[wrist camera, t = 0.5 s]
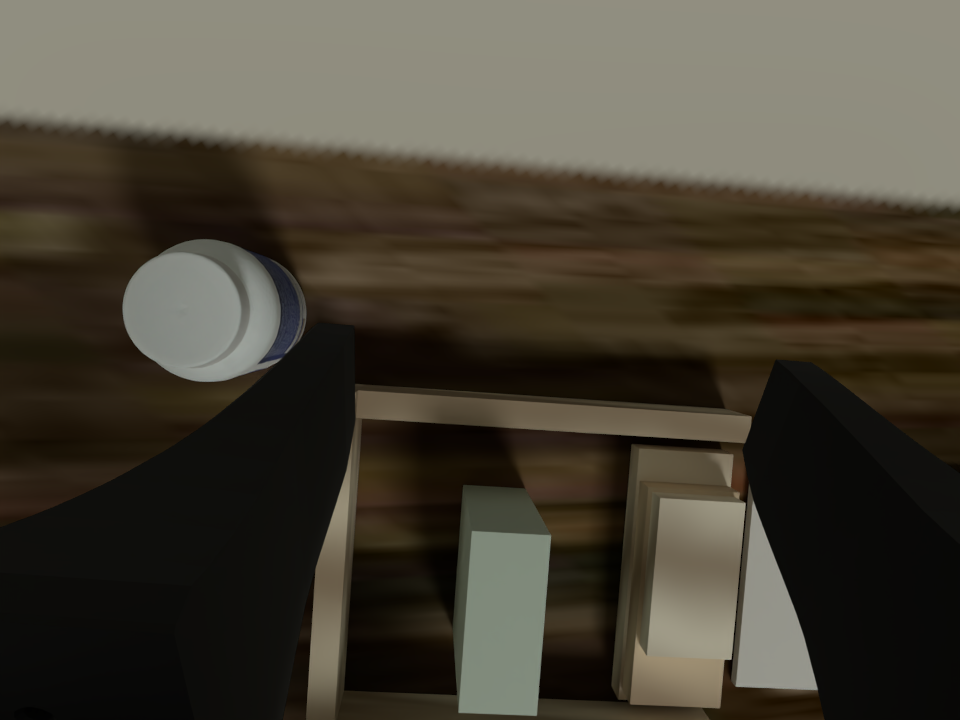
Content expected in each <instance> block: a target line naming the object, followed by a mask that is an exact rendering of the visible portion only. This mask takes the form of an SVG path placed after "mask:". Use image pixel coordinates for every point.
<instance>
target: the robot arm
mask: <svg viewBox="0 0 960 720" xmlns="http://www.w3.org/2000/svg"><path fill="white" fill-rule="evenodd" d="M355 421H356V413H355V338H354V326H352V325H340V324H328V323H317V324H316V325H315V326H314V327H312V328H311V329H310V330H309V331H308V332H307V333H306V334H305V335H304V336H303V337H302V338H301V339H300V340H299V341H298V342H297V343H296V345H295V346H294V347H293V348H292V349H291V350H290V351H289V352H288V353H287V354H286V355H285V356H283V357H282V358H281V359H280V360H279V361H278V362H277V363H276V364H275V365H274V366H273V367H272V368H271V369H270V370H269V371H268V372H267V373H266V374H265V375H263V376H262V377H261V378H260V379H259V380H258V381H257V382H256V383H255V384H254V385H253V386H251V387H250V388H249V389H248V390H247V391H246V392H245V393H243V394H242V395H241V396H240V397H239V398H237V399H236V400H235V401H234V402H232V403H231V404H230V405H229V406H227V407H226V408H225V409H224V410H223V411H221V412H220V413H219V414H218V415H216V416H215V417H214V418H213V419H211V420H210V421H209V422H207V423H206V424H205V425H203V426H202V427H200V428H199V429H198V430H196V431H195V432H193V433H192V434H190V435H189V436H187V437H186V438H184V439H183V440H181V441H180V442H178V443H177V444H175V445H174V446H172V447H170V448H169V449H167V450H165V451H164V452H162V453H160V454H159V455H157V456H155V457H153V458H151V459H150V460H148V461H146V462H144V463H142V464H141V465H139V466H137V467H135V468H133V469H132V470H130V471H128V472H126V473H124V474H123V475H121V476H119V477H117V478H115V479H113V480H111V481H109V482H107V483H105V484H103V485H101V486H99V487H97V488H95V489H93V490H91V491H89V492H86V493H84V494H82V495H80V496H78V497H75V498H73V499H71V500H69V501H66V502H64V503H62V504H59V505H57V506H55V507H53V508H50V509H48V510H45V511H43V512H40V513H38V514H35V515H33V516H30V517H27V518H25V519H22V520H19V521H16V522H14V523H11V524H8V525H6V526H3V527H0V720H283V715H284V710H285V705H286V700H287V695H288V689H289V684H290V679H291V674H292V669H293V664H294V658H295V653H296V649H297V644H298V639H299V634H300V629H301V624H302V619H303V614H304V610H305V605H306V600H307V597H308V593H309V589H310V586H311V582H312V578H313V575H314V572H315V569H316V565H317V562H318V559H319V556H320V553H321V550H322V547H323V544H324V540H325V537H326V534H327V531H328V528H329V525H330V522H331V518H332V515H333V512H334V509H335V506H336V503H337V500H338V496H339V493H340V490H341V487H342V484H343V480H344V477H345V474H346V471H347V465H348V460H349V455H350V449H351V444H352V438H353V432H354V427H355ZM742 451H743V456H744V461H745V466H746V471H747V476H748V480H749V485H750V489H751V493H752V497H753V501H754V504H755V507H756V510H757V512H758V515H759V518H760V520H761V523H762V526H763V528H764V531H765V534H766V536H767V539H768V542H769V544H770V547H771V550H772V552H773V555H774V557H775V560H776V562H777V565H778V568H779V570H780V573H781V575H782V578H783V581H784V583H785V586H786V588H787V591H788V593H789V596H790V599H791V601H792V604H793V606H794V609H795V612H796V615H797V618H798V621H799V624H800V627H801V630H802V633H803V636H804V639H805V643H806V647H807V650H808V654H809V658H810V662H811V666H812V669H813V673H814V677H815V681H816V685H817V689H818V693H819V697H820V701H821V706H822V710H823V714H824V719H825V720H960V473H959V472H957V471H956V470H955V469H953V468H952V467H950V466H949V465H947V464H946V463H945V462H943V461H942V460H940V459H939V458H937V457H936V456H934V455H933V454H932V453H930V452H929V451H928V450H926V449H925V448H923V447H922V446H921V445H919V444H918V443H917V442H915V441H914V440H913V439H911V438H910V437H909V436H907V435H906V434H905V433H903V432H902V431H901V430H899V429H898V428H897V427H896V426H894V425H893V424H892V423H890V422H889V421H888V420H887V419H885V418H884V417H883V416H881V415H880V414H879V413H878V412H876V411H875V410H874V409H873V408H871V407H870V406H869V405H867V404H866V403H865V402H864V401H862V400H861V399H860V398H859V397H857V396H856V395H855V394H854V393H852V392H851V391H850V390H848V389H847V388H846V387H845V386H843V385H842V384H841V383H839V382H838V381H837V380H835V379H834V378H833V377H831V376H830V375H829V374H827V373H826V372H825V371H823V370H822V369H820V368H819V367H817V366H816V365H814V364H813V363H811V362H799V361H786V360H776V361H775V363H774V366H773V369H772V371H771V374H770V377H769V379H768V382H767V385H766V388H765V390H764V393H763V396H762V398H761V401H760V404H759V407H758V409H757V412H756V415H755V417H754V420H753V423H752V425H751V428H750V431H749V434H748V436H747V439H746V442H745V444H744V447H743V450H742Z"/></svg>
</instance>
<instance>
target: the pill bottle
mask: <svg viewBox="0 0 960 720" xmlns="http://www.w3.org/2000/svg"><path fill="white" fill-rule="evenodd" d="M123 318H124V323H125V327H126V330H127V332H128V334H129V336H130V338H131V340H132V341H133V343H134V344H135V345H136V346H137V348H138V349H139V350H140V351H141V352H142V353H144V354H145V355H146V356H148V357H149V358H150V359H152V360H154V361H156V362H157V363H158V364H159V365H160V366H162V367H163V368H164V369H166V370H168V371H169V372H171V373H173V374H175V375H177V376H180V377H182V378H185V379H189V380H194V381H201V382H213V381H224V380H228V379H231V378H234V377H237V376H240V375H244V374H247V373H250V372H254V371H258V370H261V369H265V368H267V367H269V366H271V365H273V364H275V363H277V362H278V361H279V360H280V359H281V358H282V357H283V356H285V355H286V354H287V353H288V352H289V351H290V350H291V349H292V348H293V347H294V346H295V345H296V343H297V342H298V341H299V340H300V338H301V336H302V334H303V331H304V328H305V324H306V304H305V299H304V295H303V293H302V290H301V288H300V286H299V284H298V282H297V281H296V279H295V278H294V277H293V275H292V274H291V273H290V272H289V271H288V270H287V269H286V268H284V267H283V266H282V265H280V264H279V263H277V262H276V261H274V260H272V259H270V258H268V257H265V256H263V255H260V254H257V253H254V252H252V251H249V250H246V249H244V248H241V247H239V246H236V245H233V244H231V243H227V242H223V241H218V240H210V239H198V240H191V241H186V242H183V243H180V244H177V245H175V246H173V247H171V248H169V249H167V250H165V251H164V252H162V253H161V254H160V255H158V256H157V257H155V258H153V259H151V260H149V261H148V262H146V263H145V264H144V265H143V266H141V267H140V268H139V269H138V270H137V271H136V273H135V274H134V275H133V277H132V278H131V280H130V281H129V284H128V286H127V288H126V291H125V294H124V298H123Z"/></svg>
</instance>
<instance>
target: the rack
mask: <svg viewBox="0 0 960 720" xmlns="http://www.w3.org/2000/svg"><path fill="white" fill-rule="evenodd" d="M355 413H356V421H355V427H354V432H353V438H352V444H351V449H350V455H349V460H348V465H347V471H346V474H345V477H344V480H343V484H342V487H341V490H340V493H339V496H338V500H337V503H336V506H335V509H334V512H333V515H332V518H331V522H330V525H329V528H328V531H327V534H326V537H325V540H324V544H323V547H322V550H321V553H320V556H319V559H318V562H317V565H316V571H315V586H314V602H313V618H312V633H311V649H310V665H309V680H308V696H307V712H306V720H709V718H708V717H707V715H706V714H705V713H704V711H703V710H702V708H701V707H706V708H720V702H721V691H722V680H723V669H724V660H731V659H732V648H733V637H734V626H735V615H736V604H737V593H738V582H739V571H740V560H741V549H742V538H743V527H744V516H745V505H746V503H745V502H743V501H741V500H739V492H737V491H736V490H734V489H732V488H730V487H731V476H732V465H733V454H731V453H729V452H727V451H724V450H722V449H706V448H691V447H675V446H659V445H644V444H632V445H631V457H630V469H629V481H628V492H627V504H626V516H625V528H624V540H623V552H622V564H621V576H620V588H619V600H618V612H617V624H616V636H615V648H614V660H613V672H612V684H611V686H612V688H613V690H614V692H615V694H616V696H617V698H618V700H628V702H612V701H587V700H563V699H538V707H537V716H528V715H502V714H477V713H458V699H457V695H439V694H415V693H390V692H365V691H344V683H345V668H346V653H347V638H348V623H349V608H350V593H351V578H352V562H353V547H354V532H355V517H356V502H357V487H358V472H359V457H360V441H361V426H362V418H365V419H381V420H396V421H412V422H428V423H443V424H459V425H474V426H490V427H505V428H521V429H536V430H552V431H567V432H583V433H598V434H614V435H630V436H645V437H661V438H676V439H692V440H707V441H723V442H738V443H745V442H746V439H747V436H748V434H749V431H750V428H751V416H748V415H745V414H741V413H738V412H735V411H731V410H728V409H721V408H706V407H692V406H677V405H662V404H647V403H632V402H617V401H602V400H588V399H573V398H558V397H543V396H528V395H513V394H498V393H484V392H469V391H454V390H439V389H424V388H409V387H394V386H380V385H365V384H355Z"/></svg>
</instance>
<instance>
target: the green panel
mask: <svg viewBox="0 0 960 720" xmlns="http://www.w3.org/2000/svg"><path fill="white" fill-rule="evenodd" d="M550 542H551V534H550V533H549V531H548V529H547V527H546V525H545V524H544V522H543V520H542V518H541V516H540V515H539V513H538V511H537V509H536V507H535V505H534V504H533V502H532V500H531V498H530V496H529V495H528V493H527V491H526V489H525V488H508V487H492V486H475V485H463V493H462V506H461V520H460V534H459V548H458V561H457V575H456V589H455V602H454V616H453V640H454V655H455V669H456V684H457V699H458V713H477V714H502V715H528V716H537V707H538V694H539V681H540V669H541V656H542V643H543V631H544V618H545V605H546V593H547V580H548V567H549V555H550Z"/></svg>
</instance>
